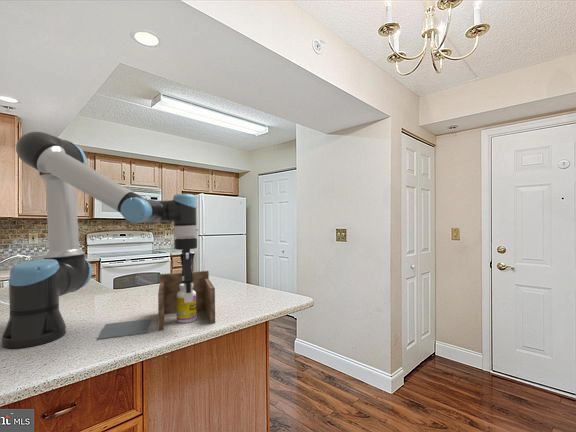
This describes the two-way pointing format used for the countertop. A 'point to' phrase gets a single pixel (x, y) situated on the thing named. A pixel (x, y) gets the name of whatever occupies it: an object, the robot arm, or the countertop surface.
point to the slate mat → (125, 329)
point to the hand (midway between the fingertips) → (187, 297)
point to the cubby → (171, 288)
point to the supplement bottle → (185, 307)
